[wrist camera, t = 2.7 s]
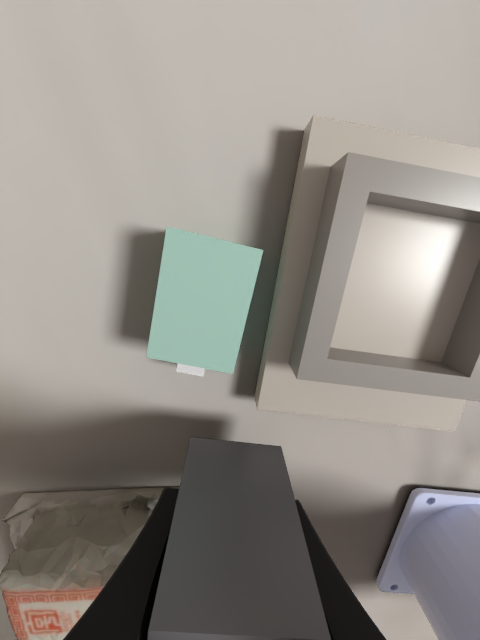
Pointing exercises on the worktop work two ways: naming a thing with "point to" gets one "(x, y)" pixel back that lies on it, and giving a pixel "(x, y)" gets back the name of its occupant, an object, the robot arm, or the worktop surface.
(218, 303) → the cable plug
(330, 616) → the robot arm
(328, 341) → the plate
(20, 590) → the packaged product
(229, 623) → the block
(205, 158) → the worktop surface
